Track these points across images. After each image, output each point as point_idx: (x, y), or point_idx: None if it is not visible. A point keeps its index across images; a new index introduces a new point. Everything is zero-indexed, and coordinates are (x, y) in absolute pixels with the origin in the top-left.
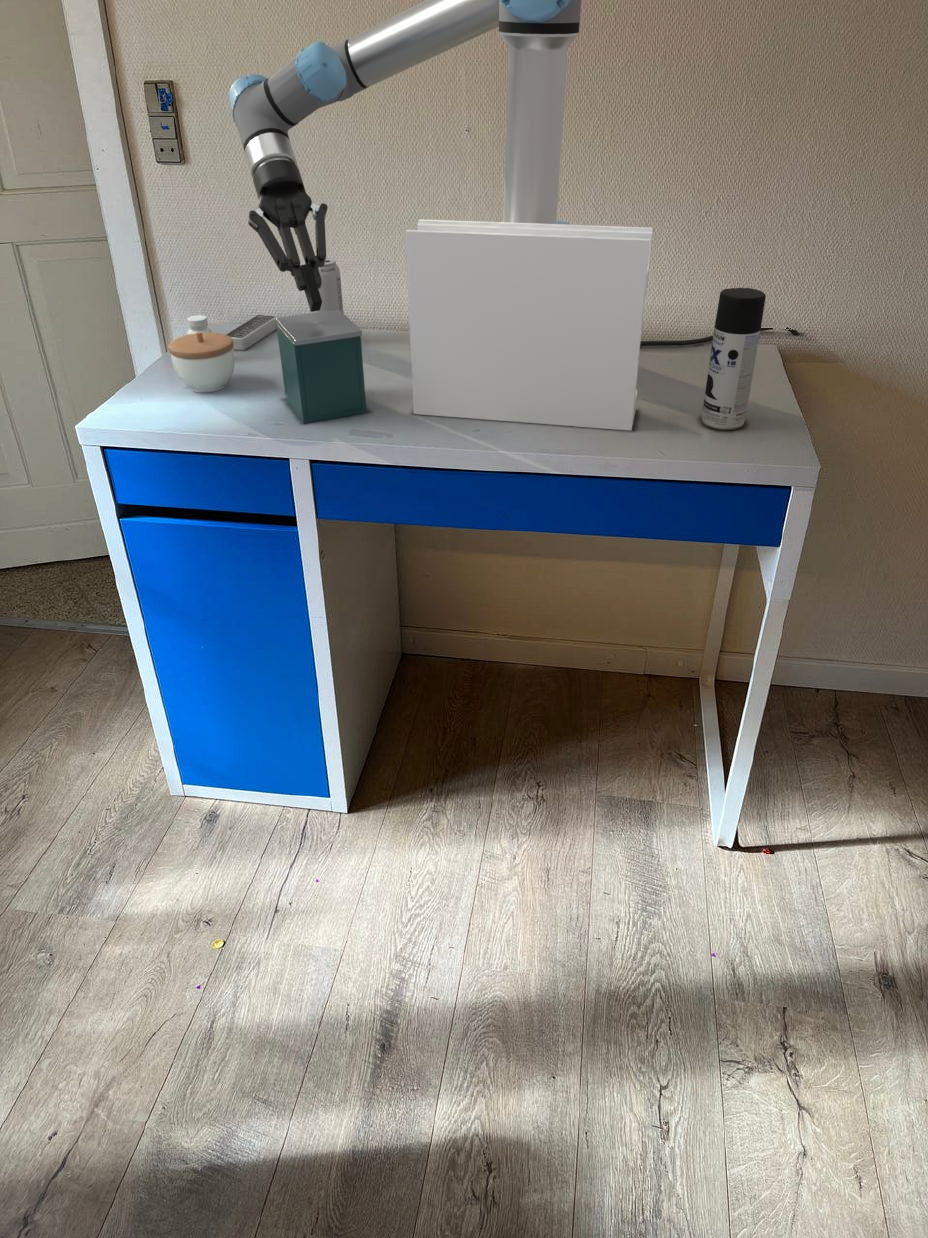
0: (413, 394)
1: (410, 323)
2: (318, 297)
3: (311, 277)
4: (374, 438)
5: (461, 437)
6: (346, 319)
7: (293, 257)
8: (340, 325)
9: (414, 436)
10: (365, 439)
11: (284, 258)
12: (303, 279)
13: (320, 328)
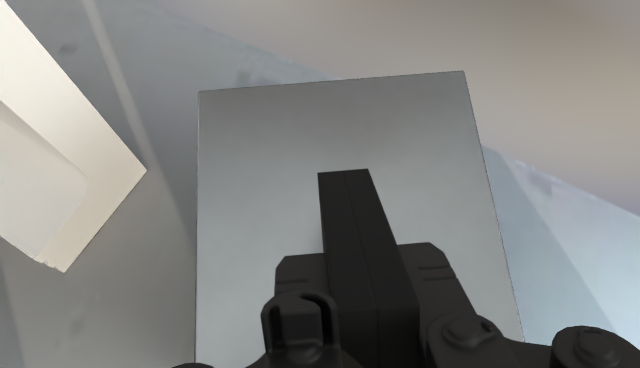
0: (127, 147)
1: (21, 21)
2: (332, 181)
3: (349, 243)
4: (276, 80)
5: (110, 31)
6: (210, 243)
7: (498, 365)
8: (259, 172)
9: (195, 63)
10: (296, 81)
11: (595, 346)
12: (405, 266)
13: (347, 163)
